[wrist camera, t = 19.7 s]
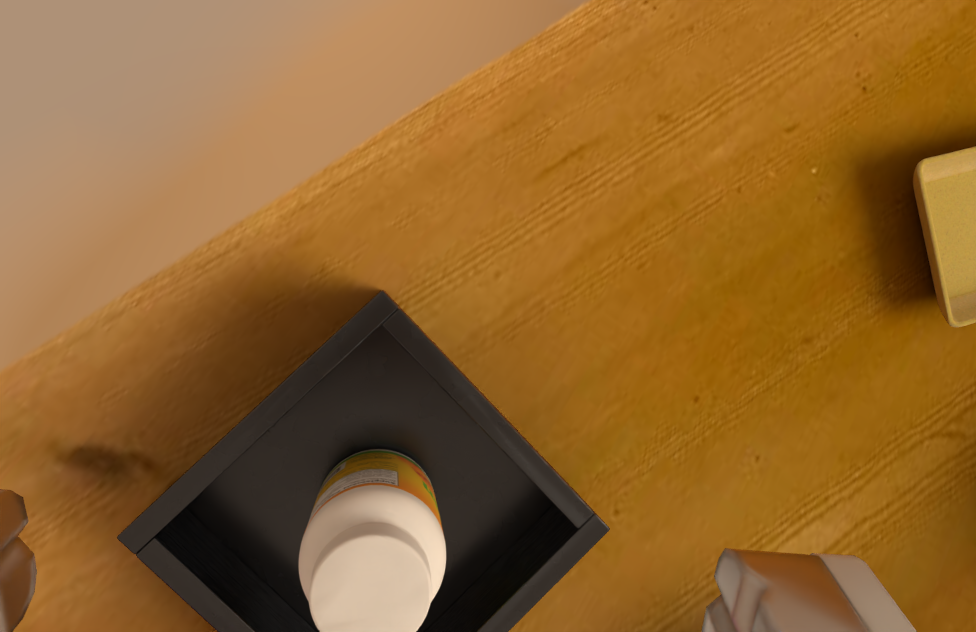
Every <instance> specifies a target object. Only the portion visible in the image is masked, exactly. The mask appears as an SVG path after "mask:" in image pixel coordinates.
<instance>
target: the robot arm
mask: <svg viewBox="0 0 976 632" xmlns="http://www.w3.org/2000/svg"><path fill="white" fill-rule="evenodd" d="M27 523H28V517H27V513H26V509H25V504H24V500H23V497H21V496H20V495H18V494H16V493H15V492H13V491H11V490H4V489H0V632H12V631H13V630H14V629H15V628H16V626H17V625H18V624H19V623H20V621H21V620H22V619H23V617H24V615H25V613H26V610H27V608H28V606H29V604H30V601H31V599H32V597H33V594H34V592H35V583H36V574H37V569H36V563H35V557H34V553H33V552H32V551H31V550H30V549H29V548H28V547H27V546H26V545H25V544H24V542H23V541H22V540H21V539H20V538H19V537H18V536H19V534H20V533H21V531H22V530H23V529H24V527H25V526H26V524H27ZM714 577H715V580H716V582H717V584H718V587H719V589H720V592H721V595H720V596H719V597H718V598H716V599H715V600H714V601H713V602H712V603H711V604H709V605H708V606H707V607H706V612H705V617H704V622H703V627H702V632H917V631H916V630H915V628H914V627H913V626H912V624H911V623H910V622H909V620H908V619H907V618H906V616H905V615H904V614H903V612H902V611H901V610H900V608H899V607H898V606H897V604H896V603H895V601H894V600H893V599H892V597H891V596H890V595H889V593H888V592H887V591H886V589H885V588H884V587H883V585H882V584H881V583H880V581H879V580H878V579H877V577H876V576H875V575H874V573H873V572H872V570H871V569H870V568H869V566H868V565H867V564H866V563H865V562H864V561H862V560H861V559H859V558H858V557H856V556H852V555H833V554H814V553H812V554H810V555H806V554H793V553H780V552H766V551H753V550H740V549H727V548H725V550H724V551H723V553H722V554H721V556H720V558H719V560H718V564H717V568H716V571H715V575H714Z"/></svg>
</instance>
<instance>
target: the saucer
mask: <svg viewBox="0 0 976 632" xmlns="http://www.w3.org/2000/svg"><path fill="white" fill-rule="evenodd" d="M913 188H914V193H915V198H916V203H917V207H918V212H919V217H920V221H921V226H922V231H923V235H924V240H925V245H926V250H927V254H928V259H929V264H930V269H931V274H932V278H933V283H934V288H935V292H936V297H937V301H938V305H939V308H940V310H941V312H942V314H943V316H944V318H945V319H946V321H947V322H948V323H949V325H950V326H952V327H961V326H965V325H969V324H972V323H976V146H975V147H971V148H967V149H962V150H959V151H954V152H951V153H947V154H943V155H939V156H935V157H930V158H926V159H923V160H921V161H920V162H919V163H918V164H917V166H916V168H915V171H914V176H913Z"/></svg>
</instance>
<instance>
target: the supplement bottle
mask: <svg viewBox="0 0 976 632" xmlns="http://www.w3.org/2000/svg"><path fill="white" fill-rule="evenodd" d="M445 567H446V544H445V539H444V534H443V530H442V525H441V520H440V515H439V511H438V507H437V502H436V498H435V494H434V490H433V487H432V484H431V482H430V480H429V478H428V476H427V475H426V473H425V472H424V470H423V469H422V468H421V467H420V466H419V465H418V464H417V463H416V462H415V461H413V460H412V459H410V458H409V457H407V456H405V455H403V454H401V453H399V452H395V451H391V450H385V449H371V450H365V451H361V452H358V453H355V454H353V455H351V456H349V457H347V458H346V459H344V460H343V461H341V462H340V463H339V464H338V465H337V466H335V467H334V468H333V469H332V471H331V472H330V473H329V474H328V476H327V477H326V479H325V480H324V482H323V484H322V486H321V488H320V490H319V493H318V495H317V498H316V501H315V504H314V507H313V510H312V513H311V516H310V519H309V522H308V524H307V527H306V530H305V532H304V535H303V538H302V542H301V547H300V552H299V576H300V581H301V585H302V588H303V591H304V593H305V596H306V598H307V600H308V601H309V607H310V612H311V615H312V618H313V621H314V623H315V625H316V627H317V628H318V630H319V631H320V632H416V631H417V630H418V629H419V627H420V626H421V625H422V623H423V621H424V620H425V618H426V615H427V613H428V610H429V607H430V603H431V602H432V600H433V599H434V597H435V595H436V594H437V592H438V590H439V588H440V585H441V583H442V580H443V576H444V573H445Z"/></svg>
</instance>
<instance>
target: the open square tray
mask: <svg viewBox="0 0 976 632" xmlns="http://www.w3.org/2000/svg"><path fill="white" fill-rule="evenodd" d="M371 449H385V450H391V451H395V452H399V453H401V454H403V455H405V456H407V457H409V458H410V459H412V460H413V461H415V462H416V463H417V464H418V465H419V466H420V467H421V468H422V469H423V470H424V472H425V473H426V475H427V476H428V478H429V480H430V482H431V484H432V487H433V490H434V494H435V498H436V502H437V507H438V511H439V515H440V520H441V525H442V530H443V534H444V539H445V544H446V567H445V573H444V576H443V580H442V583H441V585H440V588H439V590H438V592H437V594H436V595H435V597H434V599H433V600H432V602H431V603H430V607H429V610H428V613H427V615H426V618H425V620H424V621H423V623H422V625H421V626H420V627H419V629H418V630H417V631H416V632H508V631H509V630H510V629H511V628H512V627H513V626H514V625H515V624H516V623H517V622H518V621H519V620H520V619H521V618H522V617H523V616H524V615H525V614H526V613H527V612H528V611H529V610H530V609H531V608H532V607H533V606H534V605H535V604H536V603H537V602H538V601H539V600H540V599H541V598H542V597H543V596H544V595H545V594H546V593H547V592H548V591H549V590H550V589H551V588H552V587H553V586H554V585H555V584H556V583H557V582H558V581H559V580H560V579H561V578H562V577H563V576H564V575H565V574H566V573H567V572H568V571H569V570H570V569H571V568H572V567H573V566H574V565H575V564H576V563H577V562H578V561H579V560H580V559H581V558H582V557H583V556H584V555H585V554H586V553H587V552H588V551H589V550H590V549H591V548H592V547H593V546H594V545H595V544H596V543H597V542H598V541H599V540H600V539H601V538H602V537H603V536H604V535H605V534H606V533H607V532H608V531H609V530H610V528H609V527H608V526H607V525H606V524H605V523H604V522H603V521H602V519H601V518H600V517H599V516H598V515H597V514H596V513H595V512H594V511H593V510H592V509H591V508H590V506H589V505H588V504H587V503H586V502H585V501H584V500H583V499H582V498H581V497H580V496H579V495H578V493H577V492H576V491H575V490H574V489H573V488H572V487H571V486H570V485H569V484H568V483H567V482H566V481H565V480H564V479H563V478H562V477H561V476H560V475H559V474H558V472H557V471H556V470H555V469H554V468H553V467H552V466H551V465H550V464H549V463H548V462H547V461H546V460H545V459H544V458H543V457H542V456H541V455H540V454H539V453H538V451H537V450H536V449H535V448H534V447H533V446H532V445H531V444H530V443H529V442H528V441H527V440H526V439H525V438H524V437H523V436H522V435H521V434H520V433H519V432H518V430H517V429H516V428H515V427H514V426H513V425H512V424H511V423H510V422H509V421H508V420H507V419H506V418H505V417H504V416H503V415H502V414H501V413H500V412H499V411H498V409H497V408H496V407H495V406H494V405H493V404H492V403H491V402H490V401H489V400H488V399H487V398H486V397H485V396H484V395H483V394H482V393H481V392H480V391H479V390H478V388H477V387H476V386H475V385H474V384H473V383H472V382H471V381H470V380H469V379H468V378H467V377H466V376H465V375H464V374H463V373H462V372H461V371H460V370H459V369H458V367H457V366H456V365H455V364H454V363H453V362H452V361H451V360H450V359H449V358H448V357H447V356H446V355H445V354H444V353H443V352H442V351H441V350H440V349H439V348H438V346H437V345H436V344H435V343H434V342H433V341H432V340H431V339H430V338H429V337H428V336H427V335H426V334H425V333H424V332H423V331H422V330H421V329H420V328H419V327H418V325H417V324H416V323H415V322H414V321H413V320H412V319H411V318H410V317H409V316H408V315H407V314H406V313H405V312H404V311H403V310H402V309H401V308H400V307H399V306H398V304H397V303H396V302H395V301H394V300H393V299H392V298H391V297H390V296H389V295H388V294H387V293H386V292H385V291H384V290H382V291H380V292H379V293H378V294H377V295H376V296H375V297H374V298H372V299H371V300H370V301H369V302H368V303H367V304H366V305H365V306H364V307H363V308H362V309H361V310H360V311H359V312H357V313H356V314H355V315H354V316H353V317H352V318H351V319H350V320H349V321H348V322H347V323H346V324H345V325H343V326H342V327H341V328H340V329H339V330H338V331H337V332H336V333H335V334H334V335H333V336H332V337H331V338H330V339H328V340H327V341H326V342H325V343H324V344H323V345H322V346H321V347H320V348H319V349H318V350H317V351H316V352H314V353H313V354H312V355H311V356H310V357H309V358H308V359H307V360H306V361H305V362H304V363H303V364H302V365H301V366H299V367H298V368H297V369H296V370H295V371H294V372H293V373H292V374H291V375H290V376H289V377H288V378H287V379H286V380H284V381H283V382H282V383H281V384H280V385H279V386H278V387H277V388H276V389H275V390H274V391H273V392H272V393H270V394H269V395H268V396H267V397H266V398H265V399H264V400H263V401H262V402H261V403H260V404H259V405H258V406H257V407H255V408H254V409H253V410H252V411H251V412H250V413H249V414H248V415H247V416H246V417H245V418H244V419H243V420H241V421H240V422H239V423H238V424H237V425H236V426H235V427H234V428H233V429H232V430H231V431H230V432H229V433H228V434H226V435H225V436H224V437H223V438H222V439H221V440H220V441H219V442H218V443H217V444H216V445H215V446H214V447H212V448H211V449H210V450H209V451H208V452H207V453H206V454H205V455H204V456H203V457H202V458H201V459H200V460H199V461H197V462H196V463H195V464H194V465H193V466H192V467H191V468H190V469H189V470H188V471H187V472H186V473H185V474H184V475H182V476H181V477H180V478H179V479H178V480H177V481H176V482H175V483H174V484H173V485H172V486H171V487H170V488H168V489H167V490H166V491H165V492H164V493H163V494H162V495H161V496H160V497H159V498H158V499H157V500H156V501H155V502H153V503H152V504H151V505H150V506H149V507H148V508H147V509H146V510H145V511H144V512H143V513H142V514H141V515H139V516H138V517H137V518H136V519H135V520H134V521H133V522H132V523H131V524H130V525H129V526H128V527H127V528H126V529H124V530H123V531H122V532H121V533H120V534H119V535H118V536H117V539H118V540H119V541H121V542H122V543H123V544H124V545H125V546H126V547H127V548H128V549H129V550H130V551H131V552H132V553H134V554H136V556H137V557H138V558H139V559H140V560H141V561H142V562H143V563H144V564H145V565H146V566H147V567H149V568H150V569H151V570H152V571H153V572H154V573H155V574H156V575H157V576H158V577H159V578H160V579H162V580H163V581H164V582H165V583H166V584H167V585H168V586H169V587H170V588H171V589H172V590H173V591H175V592H176V593H177V594H178V595H179V596H180V597H181V598H182V599H183V600H184V601H185V602H186V603H188V604H189V605H190V606H191V607H192V608H193V609H194V610H195V611H196V612H197V613H198V614H199V615H201V616H202V617H203V618H204V619H205V620H206V621H207V622H208V623H209V624H210V625H211V626H212V627H214V628H215V629H216V630H217V631H218V632H320V631H319V630H318V628H317V627H316V625H315V623H314V621H313V618H312V615H311V612H310V607H309V601H308V600H307V598H306V596H305V593H304V591H303V588H302V585H301V581H300V576H299V552H300V547H301V542H302V538H303V535H304V532H305V530H306V527H307V524H308V522H309V519H310V516H311V513H312V510H313V507H314V504H315V501H316V498H317V495H318V493H319V490H320V488H321V486H322V484H323V482H324V480H325V479H326V477H327V476H328V474H329V473H330V472H331V471H332V469H333V468H334V467H335V466H337V465H338V464H339V463H340V462H341V461H343V460H344V459H346V458H347V457H349V456H351V455H353V454H355V453H358V452H361V451H365V450H371Z"/></svg>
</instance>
